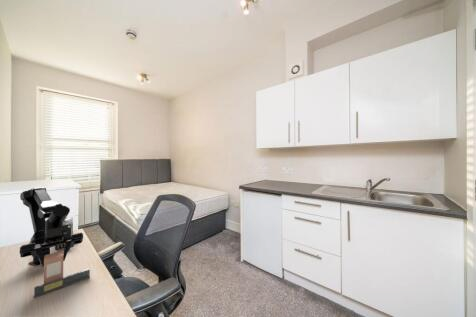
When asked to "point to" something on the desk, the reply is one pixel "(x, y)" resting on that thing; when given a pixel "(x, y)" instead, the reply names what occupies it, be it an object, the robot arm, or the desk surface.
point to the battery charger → (66, 235)
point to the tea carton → (53, 266)
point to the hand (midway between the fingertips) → (53, 263)
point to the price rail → (61, 283)
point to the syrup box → (69, 223)
